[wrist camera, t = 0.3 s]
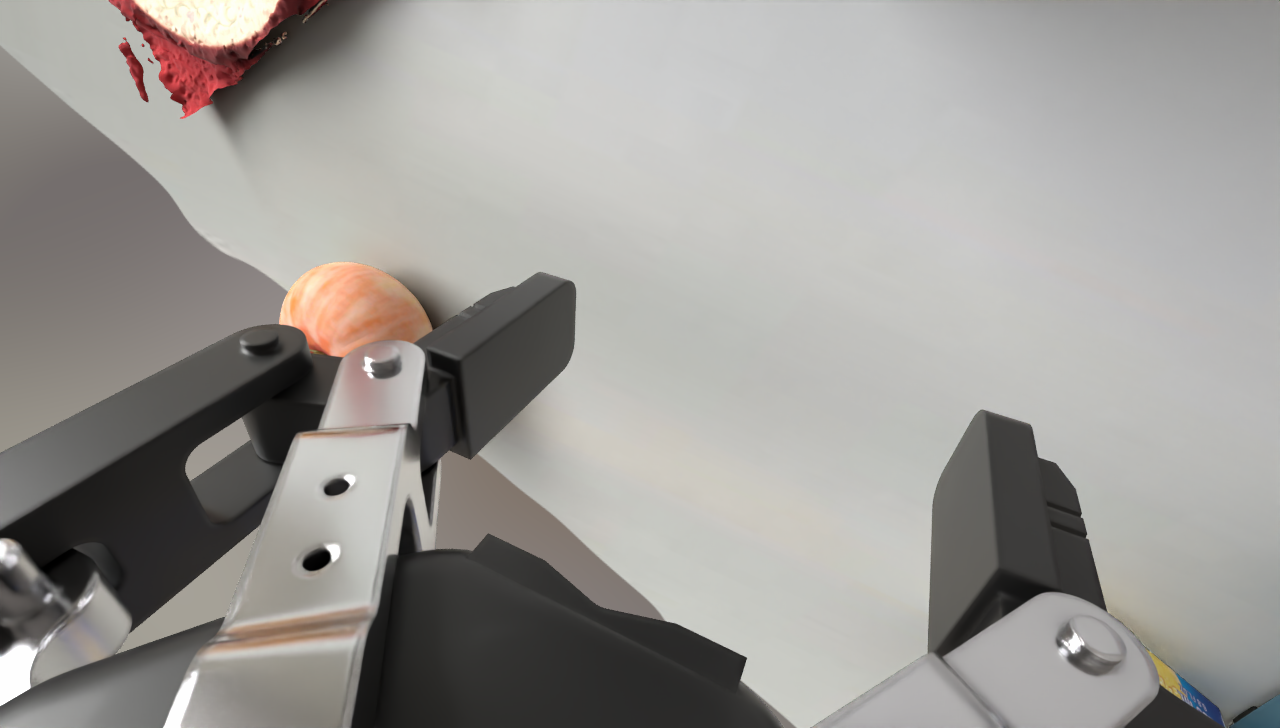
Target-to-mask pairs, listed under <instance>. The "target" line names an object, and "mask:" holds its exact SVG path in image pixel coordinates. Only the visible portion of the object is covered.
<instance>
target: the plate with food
mask: <svg viewBox="0 0 1280 728" xmlns="http://www.w3.org/2000/svg"><path fill="white" fill-rule="evenodd" d="M327 1H328V0H109V2H110V3H111V4H113V5H114V6H115V7H117V8H118V9H119V10H120V11H121V14H122V15H123V16H125V17H126V21H130V20H131V21H133V22H132V23H133V25H134V26H135V28H136V29H137V31H139V32H142V34H143V38H144V40H145V41H146V42H148V43H149V44H150V48H151V49H152V51H153V55H154V57H155V59H156V60H158V61H159V62H160V64H161V71H160V73H159V80H160V81H161V82H162V83H163V84H164V86H165V88H166V89H168V90H169V91H170V92H171V93H173V94H172V95H171V97H170V98H171V99H172V100H174V101H176V102H178V103H180V104H182V105H183V106H182V110H183V112H184V113H185V116H184V117H181V119H183V118H186V117H188V116H190V115H192V114H193V113H195V112H197V111H198V110H199V109H200V108H202V107H204V106H207V105H210V104H212V103H213V101H212V100H211V99H210V96H211V95H212V93H213V92H214V90H216V89H217V88H219V89H222V88H224V87H227V86H230V85H231V86H233V85H237V84H238V83H237V82H238V81H241V79H243V77H242V76H241V75H243V73H244V71H245V70H248V69H250V66H252V65H254V64H255V63H257V61H259V60H260V58H261V57H262V56H263V55H264V54H265V52H266V51H268V50H269V48H271V47H272V45H273V44H274V45H280V44H281V42H282V41H281V38H280V37H277V39H275V38H274V39H273V40H272V41H273V42H274V43H273V44H272V43H268V44H266V43H265V46H264V47H263V48H262V49H258V50H256V49H253V48H254V47H255V45H257V44H258V42H259V41H260V40H262V39H263V38H264V37H265V36H266V35H268V34H269V31H270V29H272V28H274V27H276V26H278V25H279V23H280V22H281V21H283V20H285V19H286V18H288V17H290V16H292V15H295V14H297V15H302V14H304V13H305V12H306V11H307V10H308V9H309V13H308V15H305V16H304V19H303V20H302V22H303V23H306V21H307V19H309V18H310V17H311V16H312V15H314V14H315V13H316V12H317V11H318V10H320V8H321V7H322V6H323V5H325V4H327V5H329V4H328V2H327ZM326 2H327V3H326ZM284 34H285V35H286V34H287V33H286V32H283V33H282V34H281V37H282V39H284V40H285V39H287V37H286V36H284ZM123 39H124V40H125V41H126V38H123ZM142 47H144V44H142ZM119 49H120V51H121V52H122V53H123V55H124V56H125V57H126V59H127V61H126V62H127V64H128V65H129V67H130V73H131V75H132V77H133V79H134V80H135V82H136V86H137V88H138V90H139V92H140V96H141V98H142V99H143V100H144V101H146V102H148V96H147V93H146V91H145V86H144V83H143V72H144V71H143V68H142V65H141V64H140V62H139V61H138V60H137V59H136V57H135V55H134V54H133V52H132V51H131V48H130V45H129V43H128V42H127V41H126V42H125V43H121V44H120V45H119ZM252 49H253V50H252ZM148 61H150V62H151V63H153V62H152V61H151V60H150V59H149V58H148Z"/></svg>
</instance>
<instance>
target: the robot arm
mask: <svg viewBox="0 0 1280 728" xmlns="http://www.w3.org/2000/svg"><path fill="white" fill-rule="evenodd" d="M575 311H576V288H575V285H574V283H573V282H572V281H569V280H566V279H562V278H559V277H556V276H553V275H549V274H546V273H543V272H538V273H536V274H535V275H533V276H532V277H530V278H529V279H527V280H526V281H524V282H523V283H521V284H520V285H518V286H517V287H510V288H506V289H503V290H500V291H496V292H493V293H490V294H489V295H487V296H485V297H484V298H482V299H481V300H479V301H478V302H476V303H475V304H474V306H473V307H471V306H470V307H468V308H467V309H465V310H464V311H462V312H461V313H460V315H459V316H458V315H456V316H454V317H453V318H451V319H450V320H448V321H447V322H445V323H444V324H442V325H440V326H439V327H437V328H436V329H434V330H433V331H431V332H430V333H428V334H427V335H425V336H423V337H422V338H420V339H419V340H417V341H416V342H414V343H413V344H412V343H410V342H406V341H401V340H381V341H375V342H371V343H367V344H364V345H362V346H359V347H357V348H355V349H353V350H352V351H350V352H349V353H348V354H347V355H345V356H344V357H337V356H329V355H321V354H313V353H310V349H309V346H308V342H307V339H306V336H305V334H304V332H303V331H301V330H300V329H298V328H296V327H293V326H289V325H281V324H271V325H261V326H256V327H251V328H247V329H244V330H241V331H239V332H236V333H234V334H232V335H230V336H228V337H226V338H224V339H222V340H220V341H218V342H216V343H215V344H212V345H210V346H208V347H206V348H205V349H203V350H201V351H199V352H197V353H195V354H193V355H191V356H189V357H187V358H185V359H183V360H181V361H179V362H177V363H175V364H173V365H171V366H169V367H168V368H165V369H164V370H161V371H160V372H158V373H156V374H154V375H152V376H150V377H148V378H146V379H144V380H142V381H140V382H138V383H136V384H134V385H133V386H130V387H128V388H126V389H124V390H123V391H120V392H119V393H116V394H115V395H113V396H111V397H109V398H107V399H105V400H103V401H101V402H99V403H97V404H95V405H93V406H91V407H89V408H87V409H85V410H83V411H81V412H80V413H78V414H75V415H74V416H71V417H70V418H68V419H66V420H64V421H62V422H60V423H58V424H56V425H54V426H52V427H50V428H48V429H46V430H44V431H42V432H40V433H38V434H36V435H34V436H32V437H31V438H28V439H27V440H25V441H23V442H21V443H19V444H17V445H15V446H13V447H11V448H9V449H7V450H5V451H3V452H1V453H0V728H784V727H783V725H782V724H781V723H780V721H779V720H778V719H777V718H776V716H775V715H774V714H773V713H772V711H771V710H770V709H769V708H768V706H766V704H764V702H763V701H762V700H761V699H760V698H759V697H758V696H757V695H756V694H755V693H754V692H753V691H752V690H751V689H749V688H748V687H747V686H746V685H745V684H744V683H742V682H741V681H740V679H741V676H742V673H743V669H744V666H745V663H746V660H747V658H746V657H744V656H742V655H740V654H738V653H736V652H734V651H732V650H730V649H728V648H726V647H724V646H721V645H719V644H717V643H715V642H713V641H711V640H709V639H707V638H705V637H703V636H701V635H699V634H696V633H694V632H692V631H690V630H688V629H686V628H684V627H682V626H680V625H678V624H675V623H671V622H666V621H661V620H656V619H652V618H647V617H642V616H638V615H633V614H628V613H624V612H619V611H614V610H610V609H606V608H602V607H600V606H598V605H596V604H595V603H593V602H592V601H591V600H590V599H589V598H588V597H586V596H585V595H584V594H583V593H582V592H581V591H579V590H578V589H577V588H576V587H575V586H574V585H573V584H571V583H570V582H569V581H568V580H567V579H565V578H564V577H563V576H562V575H561V574H560V573H559V572H557V571H556V570H555V569H554V568H553V567H551V566H550V565H549V564H548V563H547V562H546V561H545V560H543V559H540V558H538V557H536V556H534V555H532V554H530V553H528V552H526V551H524V550H522V549H519V548H517V547H515V546H513V545H511V544H509V543H507V542H505V541H503V540H501V539H499V538H497V537H495V536H492V535H490V534H487V535H486V537H485V538H484V539H483V540H482V541H481V542H480V544H479V545H478V546H477V547H476V548H475V549H474V550H473V551H470V550H461V549H436V532H437V520H438V507H439V495H440V494H439V493H440V482H441V461H440V458H441V457H442V456H443V455H444V454H445V453H447V452H448V451H449V450H450V451H452V452H454V453H457V454H459V455H461V456H464V457H466V458H468V459H472V458H473V457H474V456H475V455H476V454H477V453H478V452H479V451H480V450H481V449H482V448H483V447H484V446H485V445H486V444H487V443H488V442H489V441H490V440H491V439H492V438H493V437H495V436H496V435H497V434H498V433H499V432H500V431H501V430H502V429H503V428H504V427H505V426H506V425H507V424H508V423H509V422H510V421H511V420H512V419H513V418H514V417H515V416H516V415H517V414H518V413H519V412H520V411H521V410H522V409H524V408H525V407H526V406H527V405H528V404H529V403H530V402H531V401H532V400H533V399H534V398H535V397H536V396H537V395H538V394H539V393H540V392H541V391H542V390H543V389H544V388H545V387H546V386H547V385H548V384H549V383H550V382H552V381H553V380H554V379H555V378H556V377H557V376H558V375H559V374H560V373H561V372H562V371H563V370H564V369H565V367H566V366H567V364H568V363H569V361H570V358H571V356H572V353H573V349H574V340H575ZM241 417H242V419H243V422H244V424H245V426H246V429H247V432H248V434H249V436H250V439H251V440H250V441H248V442H247V443H245V444H244V445H242V446H241V447H240V448H238V449H237V450H235V451H234V452H232V453H231V454H229V455H228V456H227V457H225V458H224V459H222V460H221V461H219V462H218V463H216V464H215V465H213V466H212V467H211V468H209V469H208V470H206V471H205V472H204V473H202V474H200V475H199V476H197V477H196V478H194V479H193V480H192V481H189V479H188V477H187V476H186V473H185V465H186V461H187V459H188V456H189V455H190V454H191V452H192V451H193V450H194V449H195V448H196V447H197V446H198V445H199V444H201V443H202V442H204V441H205V440H207V439H208V438H210V437H212V436H213V435H215V434H216V433H218V432H219V431H221V430H222V429H224V428H225V427H227V426H229V425H230V424H232V423H233V422H235V421H236V420H238V419H239V418H241ZM1081 514H1082V512H1081V508H1080V504H1079V500H1078V496H1077V493H1076V489H1075V488H1074V486H1073V485H1072V484H1071V482H1070V481H1069V480H1068V478H1067V477H1066V476H1065V475H1064V473H1063V472H1062V471H1061V469H1060V468H1059V467H1058V465H1057V464H1056V463H1053V462H1050V461H1047V460H1044V459H1041V458H1038V455H1037V450H1036V445H1035V440H1034V435H1033V430H1032V427H1031V425H1030V424H1028V423H1024V422H1021V421H1018V420H1015V419H1011V418H1008V417H1005V416H1002V415H999V414H995V413H992V412H989V411H986V410H980V411H979V412H978V413H977V414H976V415H975V416H974V418H973V420H972V421H971V423H970V425H969V426H968V428H967V430H966V432H965V434H964V435H963V437H962V439H961V441H960V442H959V444H958V446H957V448H956V449H955V451H954V453H953V455H952V456H951V458H950V460H949V462H948V463H947V465H946V467H945V469H944V471H943V472H942V474H941V477H940V479H939V481H938V484H937V487H936V490H935V494H934V499H933V509H932V539H931V569H930V599H929V629H928V654H926V655H924V656H922V657H920V658H919V659H917V660H916V661H914V662H912V663H911V664H909V665H908V666H906V667H905V668H903V669H902V670H900V671H898V672H897V673H895V674H894V675H892V676H891V677H889V678H887V679H886V680H884V681H883V682H881V683H880V684H878V685H877V686H875V687H873V688H872V689H870V690H869V691H867V692H866V693H864V694H863V695H861V696H859V697H858V698H856V699H855V700H853V701H852V702H850V703H848V704H847V705H845V706H844V707H842V708H841V709H839V710H838V711H836V712H834V713H833V714H831V715H830V716H828V717H827V718H825V719H823V720H822V721H820V722H819V723H817V724H816V725H814V726H813V727H811V728H1225V727H1224V726H1222V725H1220V724H1219V723H1217V722H1216V721H1214V720H1213V719H1211V718H1209V717H1208V716H1206V715H1205V714H1203V713H1202V712H1200V711H1198V710H1197V709H1195V708H1194V707H1192V706H1191V705H1189V704H1188V703H1186V702H1184V701H1183V700H1181V699H1180V698H1178V697H1177V696H1175V695H1174V694H1172V693H1171V692H1170V691H1168V690H1167V689H1165V688H1164V687H1163V686H1162V685H1160V684H1159V675H1158V672H1157V668H1156V666H1155V664H1154V662H1153V659H1152V658H1151V656H1150V655H1149V653H1148V651H1147V650H1146V648H1145V647H1144V646H1143V645H1142V643H1141V642H1140V641H1139V639H1138V638H1137V637H1136V636H1135V635H1134V634H1133V633H1132V632H1131V631H1130V630H1129V629H1128V628H1127V627H1126V626H1124V625H1123V624H1122V623H1121V622H1120V621H1119V620H1117V619H1116V618H1115V617H1113V616H1112V615H1111V614H1109V613H1108V612H1107V610H1106V606H1105V602H1104V598H1103V594H1102V590H1101V586H1100V582H1099V578H1098V575H1097V571H1096V567H1095V563H1094V559H1093V555H1092V551H1091V547H1090V543H1089V540H1088V539H1086V535H1087V532H1086V528H1085V524H1084V520H1083V518H1081ZM259 525H260V528H259V530H258V533H257V535H256V538H255V541H254V543H253V546H252V548H251V551H250V554H249V556H248V559H247V562H246V564H245V567H244V569H243V572H242V575H241V577H240V580H239V582H238V585H237V588H236V590H235V593H234V596H233V598H232V601H231V603H230V606H229V609H228V612H227V614H226V616H225V617H223V618H219V619H217V620H214V621H211V622H208V623H205V624H202V625H199V626H196V627H194V628H191V629H188V630H185V631H182V632H179V633H177V634H173V635H171V636H168V637H165V638H162V639H159V640H156V641H153V642H150V643H147V644H144V645H142V646H139V647H136V648H133V649H130V650H127V651H124V652H121V653H118V654H116V655H115V653H116V652H117V651H118V650H119V649H120V648H121V646H122V645H123V643H124V642H125V640H126V638H127V636H128V634H129V633H130V632H132V631H133V630H134V629H135V628H136V627H138V626H139V625H140V624H141V623H143V622H144V621H145V620H146V619H147V618H148V617H150V616H151V615H152V614H153V613H155V612H156V611H157V610H158V609H159V608H161V607H162V606H163V605H164V604H165V603H167V602H168V601H169V600H170V599H171V598H173V597H174V596H175V595H176V594H177V593H178V592H180V591H181V590H182V589H183V588H185V587H186V586H187V585H188V584H189V583H191V582H192V581H193V580H194V579H195V578H197V577H198V576H199V575H200V574H202V573H203V572H204V571H205V570H206V569H208V568H209V567H210V566H211V565H212V564H214V562H216V561H217V560H218V559H220V558H221V557H222V556H223V555H224V554H226V553H227V552H228V551H229V550H230V549H232V548H233V547H234V546H235V545H236V544H237V543H239V542H240V541H241V540H242V539H244V538H245V537H246V536H247V535H249V534H250V533H251V532H252V531H253V530H254V529H256V528H257V527H258V526H259Z"/></svg>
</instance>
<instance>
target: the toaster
mask: <svg viewBox="0 0 1280 728" xmlns="http://www.w3.org/2000/svg"><path fill="white" fill-rule="evenodd" d="M1233 723H1234V724H1233V725H1231V726H1230V727H1229V728H1280V694H1279V695H1277V696H1276V697H1274V698H1272V699H1271V700H1269V701H1268V702H1266V703H1265V704H1263V705H1262V706H1260V707H1259V708H1257V707H1255V706H1253V707H1251V708H1250V709H1248V710H1247V711H1245V712H1244V713H1242V714H1241V715H1239V716H1238V717H1236V718H1235V719H1233Z"/></svg>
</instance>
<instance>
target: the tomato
mask: <svg viewBox="0 0 1280 728" xmlns="http://www.w3.org/2000/svg"><path fill="white" fill-rule="evenodd" d="M280 324H281V325H289V326H293V327H296V328H298V329H300V330H301V331H303V332H304V334H305V336H306V339H307V342H308V346H309V349H310V353H313V354H321V355H329V356H337V357H344V356H345V355H347V354H348V353H349V352H350V351H352V350H353V349H355V348H357V347H359V346H362V345H364V344H367V343H371V342H375V341H381V340H401V341H406V342H410V343H412V344H413V343H414V342H416V341H417V340H419V339H420V338H422V337H423V336H425V335H427V334H428V333H430V332H431V331H433V329H432V326H431V323H430V321H429V318H428V316H427V314H426V313H425V311H424V309H423V307H422V306H421V304H420V303H419V301H418V300H417V299H416V297H415V296H414V295H413V294H412V293H411V292H410V291H409V290H408V289H407V288H406V287H405V286H404V285H403V284H402V283H400V282H399V281H398V280H396V279H395V278H393V277H392V276H390V275H388V274H387V273H385V272H383V271H381V270H379V269H376V268H374V267H371V266H367V265H363V264H359V263H352V262H337V263H330V264H324V265H321V266H318V267H316V268H314V269H311V270H310V271H308V272H307V273H305V274H304V275H303V276H302V277H300V278H299V279H298V280H297V282H296V283H295V284H294V285H293V286H292V287H291V289H290V291H289V292H288V294H287V295H286V298H285V300H284V303H283V306H282V310H281V314H280Z"/></svg>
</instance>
